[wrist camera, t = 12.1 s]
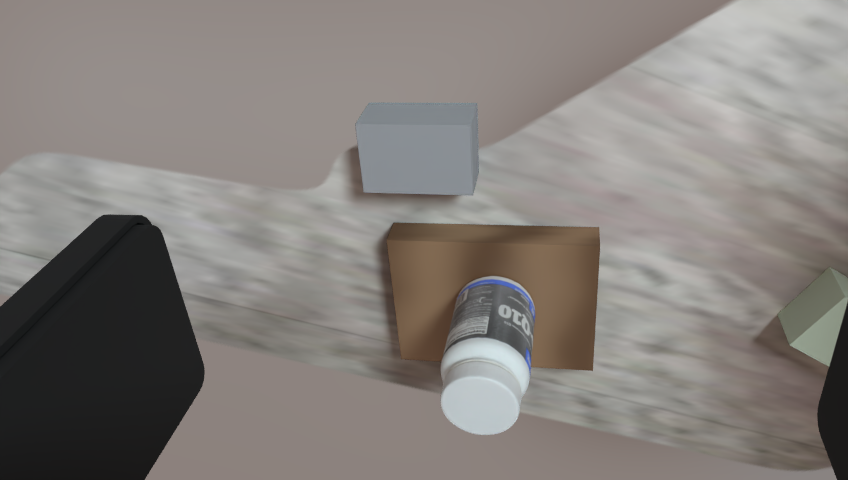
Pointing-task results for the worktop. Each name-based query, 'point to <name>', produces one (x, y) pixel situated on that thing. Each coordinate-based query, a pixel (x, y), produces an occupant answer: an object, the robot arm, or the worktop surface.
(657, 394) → the worktop surface
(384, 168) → the grey brick
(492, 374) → the pill bottle
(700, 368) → the worktop surface
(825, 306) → the sage brick
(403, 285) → the walnut block
